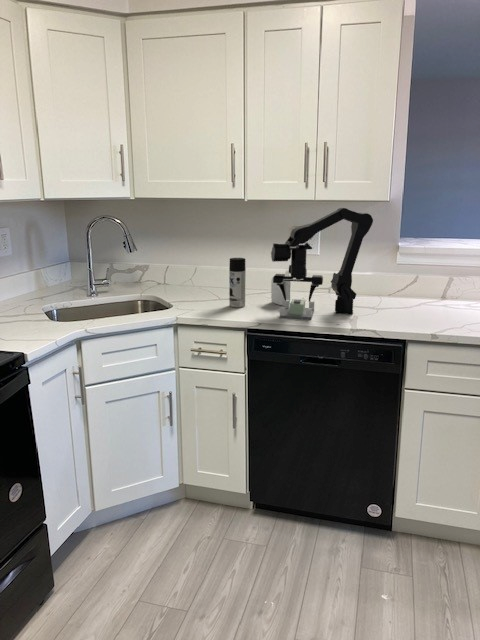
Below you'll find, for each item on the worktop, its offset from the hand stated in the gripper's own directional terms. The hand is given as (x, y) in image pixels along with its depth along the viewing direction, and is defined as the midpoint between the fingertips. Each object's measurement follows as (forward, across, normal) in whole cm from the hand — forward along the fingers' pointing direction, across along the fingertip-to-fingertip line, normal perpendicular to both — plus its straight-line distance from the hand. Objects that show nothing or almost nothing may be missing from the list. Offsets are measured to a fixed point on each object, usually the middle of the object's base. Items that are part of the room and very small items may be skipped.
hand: (297, 301), depth 201 cm
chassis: (+5, 0, 0) cm, 5 cm away
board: (+4, 0, 0) cm, 4 cm away
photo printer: (+6, +9, -17) cm, 20 cm away
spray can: (+6, +26, -9) cm, 28 cm away
